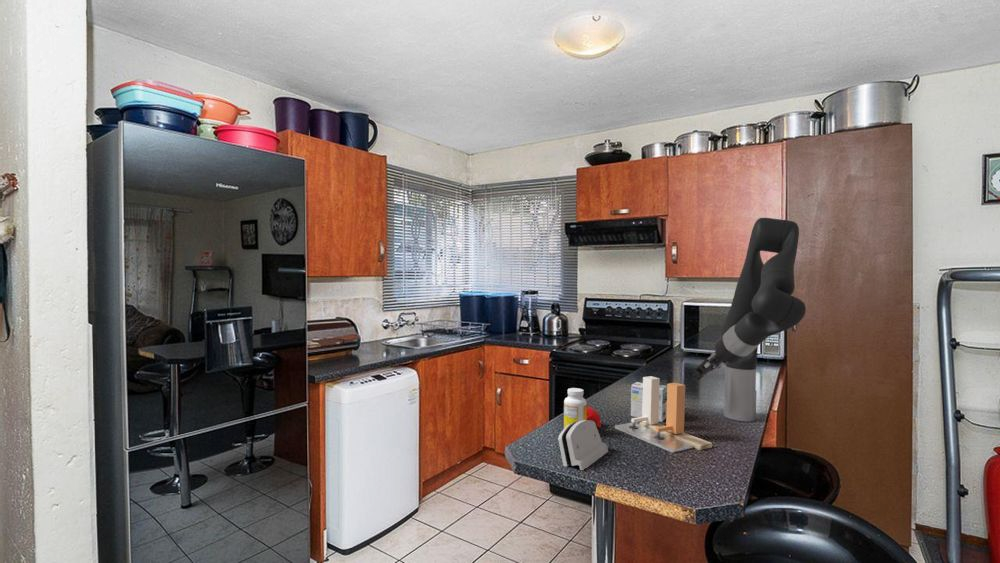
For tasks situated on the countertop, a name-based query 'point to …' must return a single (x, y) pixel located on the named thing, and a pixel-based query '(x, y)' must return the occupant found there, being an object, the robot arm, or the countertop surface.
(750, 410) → the robot arm
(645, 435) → the bolt plate
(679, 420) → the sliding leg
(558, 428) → the countertop surface
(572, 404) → the supplement bottle
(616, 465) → the countertop surface
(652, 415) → the fixed leg
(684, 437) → the rail
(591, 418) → the cap
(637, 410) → the light bulb box
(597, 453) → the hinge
